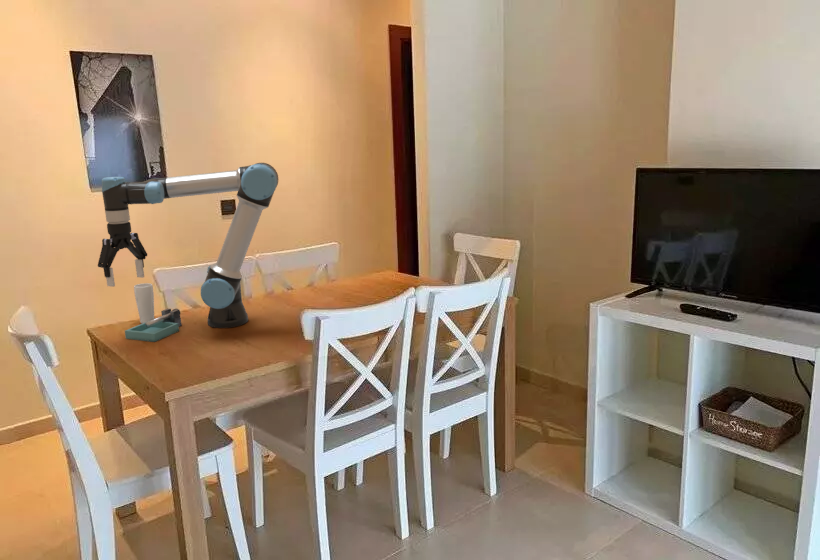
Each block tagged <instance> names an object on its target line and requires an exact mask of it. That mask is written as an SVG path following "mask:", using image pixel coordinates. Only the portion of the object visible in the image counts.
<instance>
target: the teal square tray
mask: <svg viewBox="0 0 820 560" xmlns="http://www.w3.org/2000/svg"><path fill="white" fill-rule="evenodd" d="M150 321H151V320H150ZM147 322H148V321H147ZM145 323H146V322H145ZM145 323H143V324H142V323H140V324H138V325H135V326H132V327H131V328H128V329H126V330H124V334H125V336H124V337H125V340H132V341H133V340H134V341H143V342H150V343H156V342H159V341H160V340H163V339H165V338H167V337H169V336H171V335H174V334H175V333H179V332H180V327H179V325H178V323H170V322H160V323H158V324H155V325H153V326H150V327H146V325H145Z"/></svg>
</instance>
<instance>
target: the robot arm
mask: <svg viewBox="0 0 820 560" xmlns="http://www.w3.org/2000/svg"><path fill="white" fill-rule="evenodd" d="M278 184H279V175H278V172H277V170H276V169H275V168H274V166H272V165H271V164H270V163H267V162H256V163H255V164H250V165H245V166H239V167H237V169H236V170H235V169H233V170H225V171H216V172H206V173H198V174H195V173H194V174H186V175H176V176H170V177H169V176H167V177H153V178H149V179H148V180H143V181H134V182H129V181H126V178H125V177H124V176H107V177H103V178H102V179H101V193H102V200H103V205H104V214H105V221H106V222H107V224H106V229H107V234H108V235H109V238H102V243H101V244H102V245H101V250H100V254H99V259H98V262H97V267H98V268H102V269H103V272H104V273H103V274H104V278H106V279H105V280H106V285H107V287H116V283H115V277H114V269H113V267H112V264H113V263H114V260H115V258H116V256H117V253H118V252H120V250H124V249H127V250H128V251H129V252H130V253H131V254H132V255H133V256H134V257H135V258H136V259H134V264H135V271H136V278H145V270H144V267H145V265H144V260H146V258H147V257H148V253H147V251H146V249H145V247H144V245H143V243H142V241H141V240H140V238H139V234H138V232H132V225H131V224H132V223H131V221H130V220H131V218H130V217H131V216H130V209H129V205H148V204H149V205H155V204H162V203H163V202H164V200H165V199H166V200H167V199H172V198H182V197H183V198H185V197H193V196H202V195H210V194H211V195H212V194H220V193H221V194H222V193H230V192H231V193H232V192H237V193H236V197H237V199H238V203H237V205H236V209H235V211H234V214H233V217H232V219H231V223H230V226H229V227H228V230H227V233H226V236H225V239H224V241H223V244H222V246H221V249H220V252H219V255H218V258H217V260H216V262H215V263H213V264H211V265H209V266H207V271H206V278H205V280H204V282H203V284H202V285H201V287H200V297H201V300H202V301H203V303H204V304H205V305H206V306H208V307H210V308H209V312H208V316H207V325H208V326H209V327H211V328H216V329H227V328H228V329H229V328H234V327H235V328H236V327H240V326H242V325H245V324H247V323H248V322H249V315H248V313H247V309H246V307H245V306H244V303H243V298H242V286H241V281H242V278H243V274H242V273H241V269H242V266H243V263H244V260H245V258H246V256H247V252H248V250H249V247H250V245H251V242H252V239H253V237H254V233H255V231H256V228H257V226H258V224H259V221H260V218H261V215H262V213H263V210H265V209H268V208H269V206H270V204H271V201H272V198H273V196H274V194H275V191H276V189H277V186H278Z"/></svg>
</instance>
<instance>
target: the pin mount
mask: <svg viewBox="0 0 820 560" xmlns="http://www.w3.org/2000/svg"><path fill="white" fill-rule="evenodd" d="M171 309H172V308H169V307H168V308H165V309H162V310H160V311H161V312H160V313H161V316H163V315H165V314H168V313H170V316H171V318H170V319H167V320H165V321H162V322H170V323H178V325H179V328H180V327H181V326H182V318H181V311H180V309H179V308H175V309H176V310H173V309H172V310H173V311H172V310H171ZM178 309H179V310H178Z"/></svg>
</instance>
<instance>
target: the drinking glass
mask: <svg viewBox="0 0 820 560" xmlns="http://www.w3.org/2000/svg"><path fill="white" fill-rule="evenodd" d="M133 291H134V297H135V303H136V307H137V312H138V316H139V322H140V324H143V323H145V322H147V321H150V320H153V319H155V297H154V296H155V293H154V285H153V284H152V283H149V282H145V283H139V284H135V285H134V286H133Z"/></svg>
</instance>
